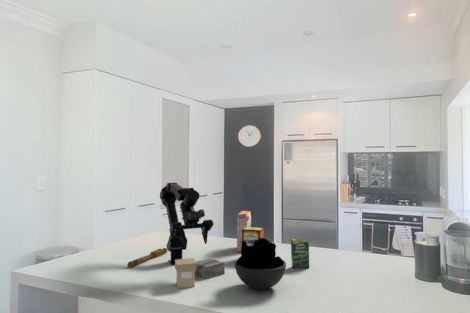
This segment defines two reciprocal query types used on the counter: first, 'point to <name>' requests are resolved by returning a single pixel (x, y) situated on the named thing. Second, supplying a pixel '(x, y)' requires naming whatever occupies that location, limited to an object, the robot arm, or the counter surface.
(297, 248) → the coffee box
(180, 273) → the box
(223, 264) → the block
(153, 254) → the tap handle
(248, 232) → the baking soda box
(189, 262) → the box lid
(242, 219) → the cracker box
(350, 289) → the counter surface
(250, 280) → the coal bowl
